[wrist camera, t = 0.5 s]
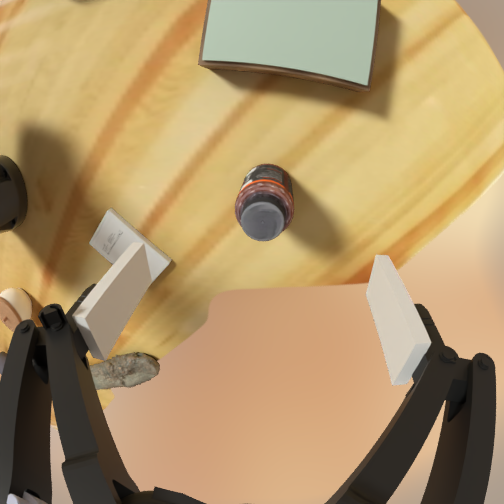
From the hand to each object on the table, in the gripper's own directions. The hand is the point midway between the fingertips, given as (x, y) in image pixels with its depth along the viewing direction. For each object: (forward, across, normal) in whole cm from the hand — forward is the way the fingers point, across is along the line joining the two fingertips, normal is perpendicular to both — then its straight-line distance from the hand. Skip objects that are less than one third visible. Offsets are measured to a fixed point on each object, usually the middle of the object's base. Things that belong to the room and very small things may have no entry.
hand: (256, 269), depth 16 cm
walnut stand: (+22, +2, +19) cm, 29 cm away
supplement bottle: (+22, 0, -2) cm, 22 cm away
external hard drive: (+22, -22, -12) cm, 34 cm away
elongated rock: (+22, -37, -48) cm, 65 cm away
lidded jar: (+22, -59, -28) cm, 69 cm away
